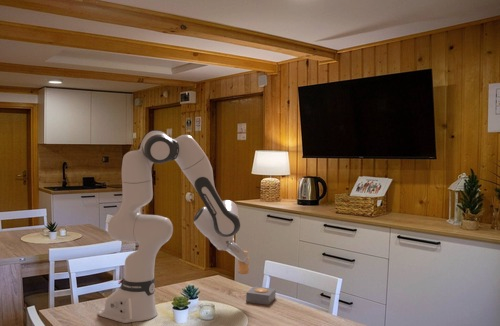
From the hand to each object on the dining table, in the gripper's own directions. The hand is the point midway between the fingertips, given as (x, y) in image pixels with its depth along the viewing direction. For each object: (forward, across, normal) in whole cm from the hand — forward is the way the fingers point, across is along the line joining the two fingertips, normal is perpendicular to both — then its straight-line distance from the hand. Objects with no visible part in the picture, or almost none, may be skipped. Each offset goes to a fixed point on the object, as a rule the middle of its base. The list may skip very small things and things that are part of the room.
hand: (244, 261), depth 189 cm
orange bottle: (+3, 0, +4) cm, 5 cm away
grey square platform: (+18, +1, +7) cm, 20 cm away
